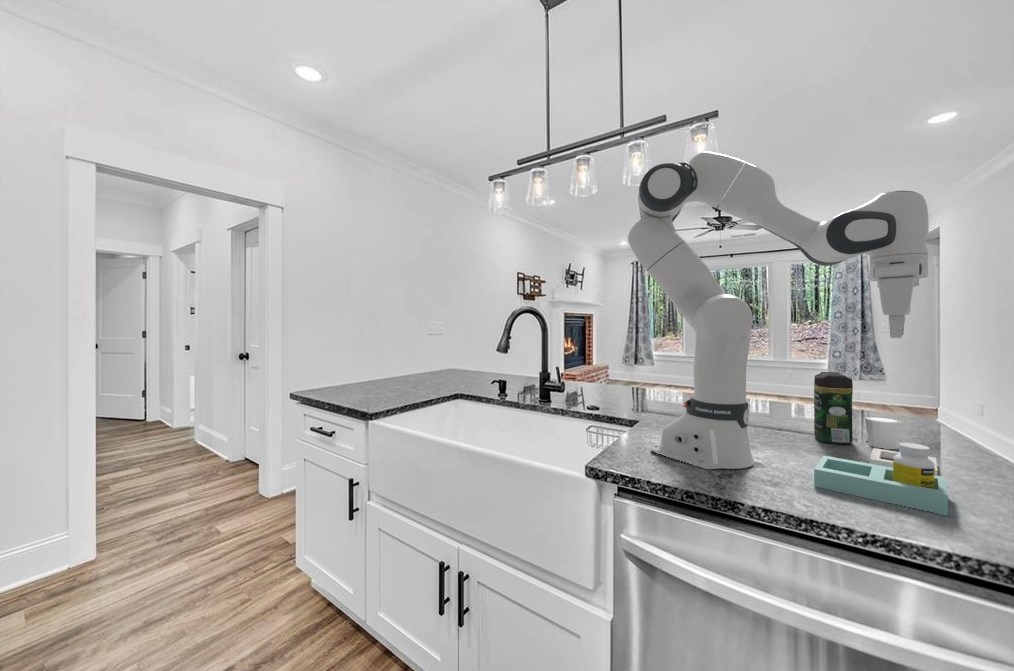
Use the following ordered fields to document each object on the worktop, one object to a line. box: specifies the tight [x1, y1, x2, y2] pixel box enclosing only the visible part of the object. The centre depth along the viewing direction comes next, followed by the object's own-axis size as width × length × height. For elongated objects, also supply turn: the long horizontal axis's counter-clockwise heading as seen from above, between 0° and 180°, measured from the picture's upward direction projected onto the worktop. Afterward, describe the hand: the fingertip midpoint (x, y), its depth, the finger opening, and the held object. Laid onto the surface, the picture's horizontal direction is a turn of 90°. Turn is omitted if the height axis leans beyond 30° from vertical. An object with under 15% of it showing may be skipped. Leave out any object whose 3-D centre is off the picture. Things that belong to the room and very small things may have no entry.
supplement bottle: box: [892, 442, 935, 489], centre depth 75 cm, size 5×5×10 cm
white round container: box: [865, 416, 903, 450], centre depth 105 cm, size 7×7×7 cm
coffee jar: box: [813, 371, 854, 446], centre depth 110 cm, size 10×8×19 cm
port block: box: [813, 455, 949, 517], centre depth 78 cm, size 18×11×4 cm, turn 45°
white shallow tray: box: [868, 447, 938, 476], centre depth 92 cm, size 10×10×2 cm
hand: (897, 336), depth 86 cm, fingers open, 8 cm apart
